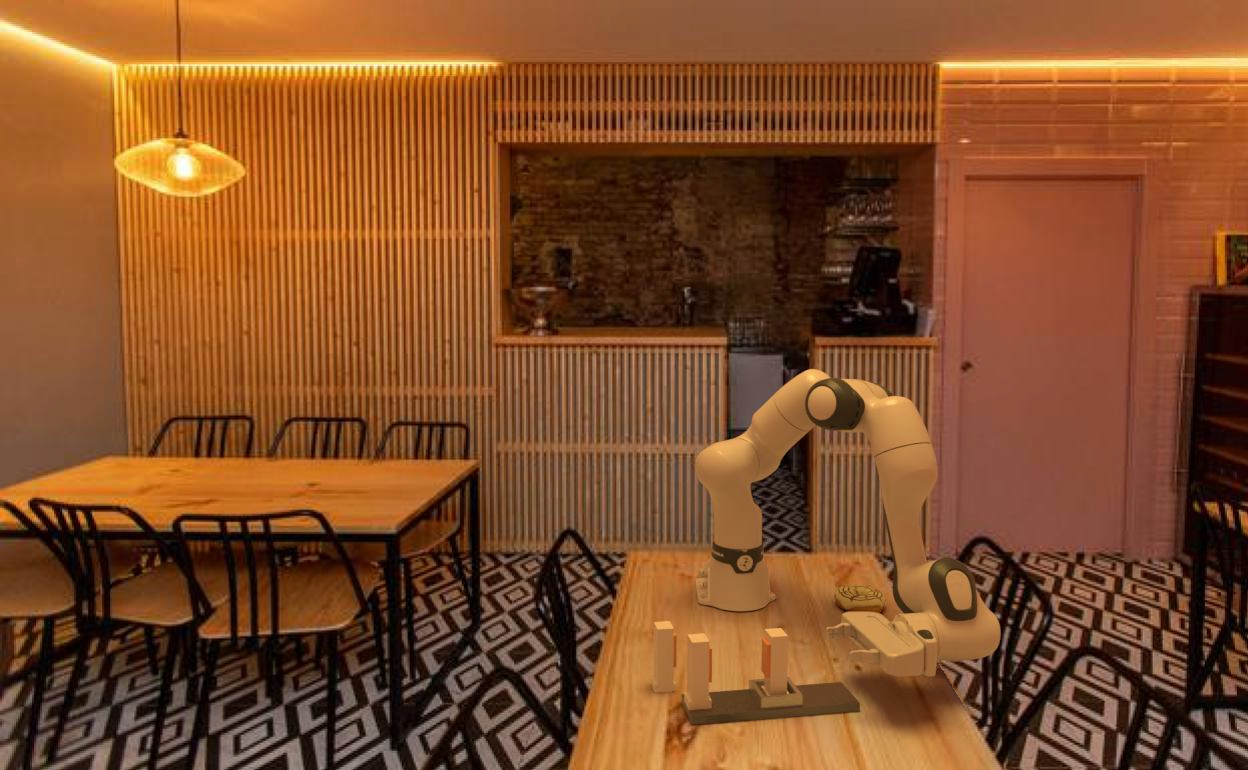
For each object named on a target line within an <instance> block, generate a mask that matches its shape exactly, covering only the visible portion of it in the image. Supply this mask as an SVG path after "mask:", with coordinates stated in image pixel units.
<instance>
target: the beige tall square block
mask: <svg viewBox="0 0 1248 770" xmlns="http://www.w3.org/2000/svg"><path fill="white" fill-rule="evenodd" d="M788 645H789V636H788V634H787V633H786V632H785V631H784V630H783V628H781V627H779V628H778V627H775V628H765V629H764V637H763V638H761V667H760V668H761V670H760V671H761V673H762V674H763V679H764V686H761V692H762V693H763V694H764V696H767V695H780V694H789V692H788V691H787V677H788V662H789V661H788V655H789V653H788V652H789V651H788V650H789V649H788V648H789V646H788Z"/></svg>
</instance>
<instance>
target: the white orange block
mask: <svg viewBox="0 0 1248 770" xmlns="http://www.w3.org/2000/svg"><path fill="white" fill-rule="evenodd" d="M677 637H678V636H677V633H676V632H675V629H674V626H673V624H672V623H671V620H670V621H669V620H665V621H663V620H662V621H653V676H652V675H651V676H650V684H651V685H650V686H651V687H652V690H653V693H654V692H655V693H654V694H659V693H660V692H661V693H673V692H674V693H675V692H677V682H676V681H675V677H674V674H675V673H674V668H677V651H678V649H677V648H678V647H677V645H678V644H677V643H678V641H677V639H678V638H677ZM672 691H673V692H672Z"/></svg>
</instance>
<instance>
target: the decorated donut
mask: <svg viewBox="0 0 1248 770" xmlns="http://www.w3.org/2000/svg"><path fill="white" fill-rule="evenodd" d="M833 598H834V601H835V602H836V604H837V606H838V607H839V608H840V609H841V610H844V611H845V612H876V613H879V614H881V612H882V611H883V610H884V607H885V604H886V596H885V594H884V592H882V591H880V590H879V589H878V588H874V587H871V586H869V585H863V584H846V585H841V586H838V587H837V588H836V589H835V590H834V592H833Z"/></svg>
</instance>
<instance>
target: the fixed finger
mask: <svg viewBox="0 0 1248 770" xmlns="http://www.w3.org/2000/svg"><path fill="white" fill-rule="evenodd" d="M686 638H687V639H686V640H687V641H686V643H687V645H686V647H687V648H686V649H687V651H686V653H687V655H686V658H687V659H686V663H687V664H686V665H687V667H686V691H684V692H683V694H684V701H685V703H686V705H687V707H688V710H698V709H710V708H712V700H711V698H710V696H709V692H710V683H713V648H712V647H711V645H710V640H709V639H708V637H707V635H706V634H705V632H704V633H701V632H700V633H690V634H689V633H688V634H687V637H686Z"/></svg>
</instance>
